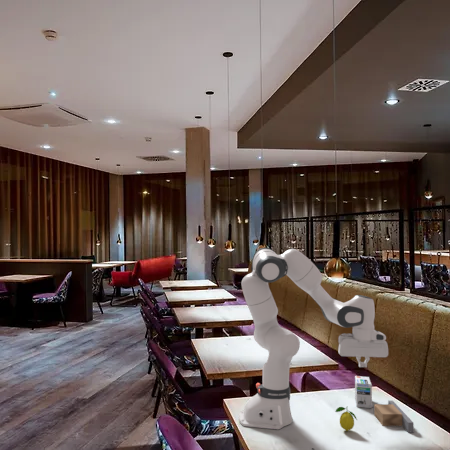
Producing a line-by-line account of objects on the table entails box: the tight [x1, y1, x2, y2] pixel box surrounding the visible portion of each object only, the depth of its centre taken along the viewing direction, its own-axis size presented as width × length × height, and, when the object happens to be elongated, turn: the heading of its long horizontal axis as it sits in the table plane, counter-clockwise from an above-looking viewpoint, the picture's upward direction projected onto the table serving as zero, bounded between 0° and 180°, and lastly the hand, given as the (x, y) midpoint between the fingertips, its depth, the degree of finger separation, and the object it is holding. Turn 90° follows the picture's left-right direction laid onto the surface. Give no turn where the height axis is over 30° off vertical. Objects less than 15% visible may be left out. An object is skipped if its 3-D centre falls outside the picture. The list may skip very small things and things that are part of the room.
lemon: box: [334, 406, 358, 432], centre depth 176 cm, size 7×6×10 cm
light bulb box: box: [354, 375, 373, 409], centre depth 203 cm, size 11×7×11 cm, turn 168°
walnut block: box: [373, 403, 403, 427], centre depth 185 cm, size 8×10×5 cm
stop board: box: [387, 400, 414, 434], centre depth 185 cm, size 2×22×4 cm, turn 179°
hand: (362, 366), depth 186 cm, fingers closed
